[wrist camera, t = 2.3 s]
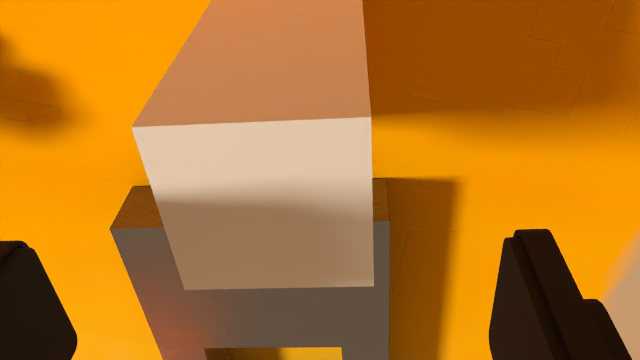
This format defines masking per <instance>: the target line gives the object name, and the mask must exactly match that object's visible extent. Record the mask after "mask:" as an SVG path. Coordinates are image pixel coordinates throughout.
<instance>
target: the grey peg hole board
mask: <svg viewBox="0 0 640 360" xmlns="http://www.w3.org/2000/svg"><path fill="white" fill-rule="evenodd" d="M372 196H373V257H374V286H367V287H313V288H260V289H206V290H184V286H183V283H182V280H181V277H180V274H179V271H178V268H177V265H176V262H175V259H174V256H173V253H172V250H171V247H170V244H169V241H168V238H167V235H166V232H165V228H164V225H163V222H162V219H161V216H160V213H159V210H158V207H157V204H156V201H155V198H154V195H153V192H152V189H151V186H139V187H132V188H131V190H130V192H129V194H128V196H127V198H126V199H125V201H124V203H123V205H122V207H121V209H120V211H119V212H118V214H117V216H116V218H115V220H114V222H113V224H112V225H111V227H110V231H111V233H112V236H113V238H114V241H115V243H116V245H117V248H118V250H119V253H120V255H121V258H122V260H123V263H124V265H125V267H126V270H127V272H128V275H129V277H130V280H131V282H132V285H133V287H134V289H135V292H136V294H137V297H138V299H139V302H140V304H141V306H142V309H143V311H144V314H145V316H146V319H147V321H148V324H149V326H150V328H151V331H152V333H153V336H154V338H155V341H156V343H157V346H158V348H159V350H160V353H161V355H162V358H163V360H231V357H230V354H229V350H228V348H283V347H342V358H343V360H389V278H390V216H389V206H388V196H387V186H386V178H380V179H372Z"/></svg>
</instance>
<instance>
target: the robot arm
mask: <svg viewBox="0 0 640 360" xmlns="http://www.w3.org/2000/svg"><path fill="white" fill-rule="evenodd" d="M489 345H490V350H491V354H492V358H493V360H632V358H631V357H630V355H629V353H628V351H627V349H626V347H625V345H624V343H623V341H622V339H621V337H620V335H619V333H618V331H617V330H616V328H615V326H614V324H613V322H612V320H611V318H610V316H609V314H608V312H607V310H606V309H605V307H604V306H603V304H602V303H601V302H600V301H598V300H597V299H583V297H582V295H581V293H580V291H579V289H578V287H577V285H576V283H575V281H574V279H573V277H572V275H571V273H570V271H569V268H568V266H567V264H566V262H565V260H564V258H563V256H562V254H561V252H560V250H559V248H558V246H557V244H556V242H555V239H554V237H553V235H552V234H551V232H550V231H549V230H548V229H525V230H516V231H515V233H514V236H513V237H510V238H505V239H504V243H503V249H502V255H501V261H500V267H499V273H498V279H497V285H496V291H495V297H494V303H493V309H492V316H491V322H490V328H489ZM76 347H77V335H76V332H75V330H74V328H73V326H72V324H71V322H70V320H69V318H68V316H67V314H66V312H65V310H64V308H63V306H62V304H61V302H60V300H59V298H58V296H57V294H56V292H55V290H54V288H53V286H52V284H51V282H50V280H49V278H48V276H47V274H46V272H45V270H44V268H43V266H42V264H41V262H40V260H39V257H38V255H37V253H36V252H35V250H34V249H32V248H29V247H28V245H27V244H26V243H25V242H23V241H0V360H71V358H72V357H73V355H74V353H75V350H76Z"/></svg>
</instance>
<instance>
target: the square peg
mask: <svg viewBox="0 0 640 360" xmlns="http://www.w3.org/2000/svg"><path fill="white" fill-rule="evenodd" d="M131 128H132V131H133V134H134V137H135V140H136V143H137V146H138V149H139V152H140V155H141V158H142V161H143V164H144V167H145V170H146V174H147V177H148V180H149V183H150V186H151V189H152V192H153V195H154V198H155V201H156V204H157V207H158V210H159V213H160V216H161V219H162V222H163V225H164V228H165V232H166V235H167V238H168V241H169V244H170V247H171V250H172V253H173V256H174V259H175V262H176V265H177V268H178V271H179V274H180V277H181V280H182V283H183V286H184V290H206V289H260V288H313V287H367V286H374V257H373V196H372V135H371V108H370V95H369V81H368V68H367V55H366V42H365V29H364V15H363V2H362V0H212V1H211V3H210V4H209V6H208V8H207V9H206V11H205V12H204V14H203V15H202V17H201V19H200V20H199V22H198V23H197V25H196V26H195V28H194V30H193V31H192V33H191V34H190V36H189V37H188V39H187V41H186V42H185V44H184V45H183V47H182V48H181V50H180V52H179V53H178V55H177V56H176V58H175V59H174V61H173V63H172V64H171V66H170V67H169V69H168V70H167V72H166V74H165V75H164V77H163V78H162V80H161V81H160V83H159V85H158V86H157V88H156V89H155V91H154V92H153V94H152V96H151V97H150V99H149V100H148V102H147V103H146V105H145V107H144V108H143V110H142V111H141V113H140V114H139V116H138V118H137V119H136V121H135V122H134V124H133V125H132V127H131Z"/></svg>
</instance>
